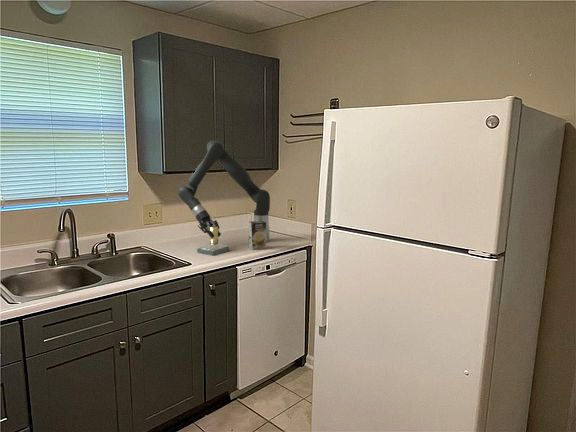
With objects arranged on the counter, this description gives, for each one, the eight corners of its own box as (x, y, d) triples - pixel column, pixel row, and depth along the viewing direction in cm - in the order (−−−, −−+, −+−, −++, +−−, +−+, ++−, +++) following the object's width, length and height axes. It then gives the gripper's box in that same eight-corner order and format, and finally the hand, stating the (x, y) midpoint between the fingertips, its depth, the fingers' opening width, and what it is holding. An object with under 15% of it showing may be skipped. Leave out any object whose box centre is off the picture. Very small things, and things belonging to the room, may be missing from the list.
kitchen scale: (214, 248, 263) (214, 243, 262) (229, 250, 256) (229, 245, 255) (197, 252, 251) (197, 247, 251) (212, 255, 244) (212, 250, 244)
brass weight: (214, 242, 257) (213, 225, 255) (220, 243, 254) (219, 226, 253) (208, 244, 253) (207, 227, 251) (214, 245, 250) (214, 228, 249)
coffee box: (251, 250, 257) (251, 223, 255) (248, 247, 263) (248, 221, 261) (266, 248, 261) (266, 222, 258) (263, 246, 267) (263, 220, 264)
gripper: (195, 211, 249) (211, 234, 244) (212, 208, 261) (228, 230, 256) (188, 219, 253) (204, 242, 248) (206, 216, 264) (221, 238, 260)
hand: (216, 236), depth 252 cm, fingers closed on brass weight, 4 cm apart
